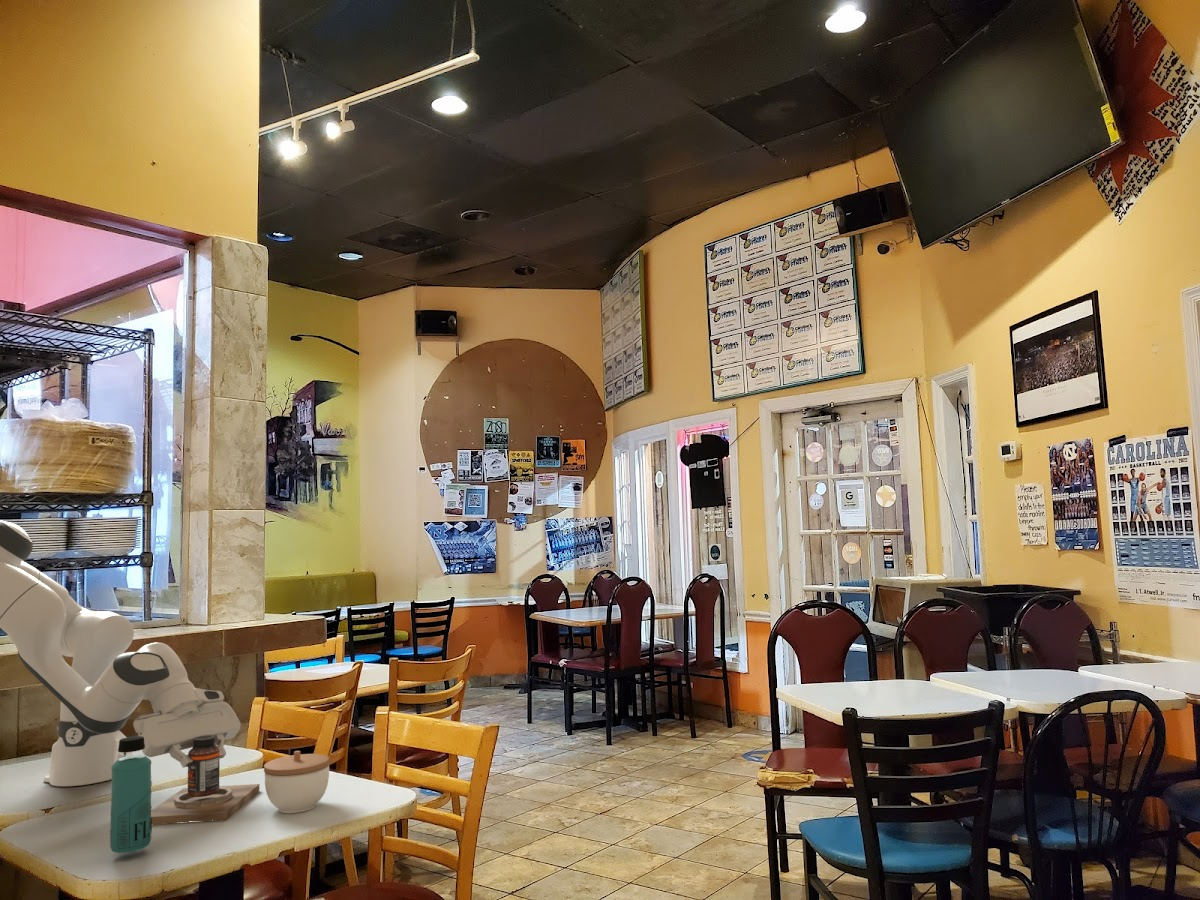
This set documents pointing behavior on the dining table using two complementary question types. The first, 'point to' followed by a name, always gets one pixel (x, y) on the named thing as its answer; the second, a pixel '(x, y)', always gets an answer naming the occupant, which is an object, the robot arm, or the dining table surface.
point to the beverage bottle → (131, 799)
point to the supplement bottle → (204, 767)
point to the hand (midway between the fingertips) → (205, 760)
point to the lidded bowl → (296, 781)
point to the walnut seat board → (203, 805)
